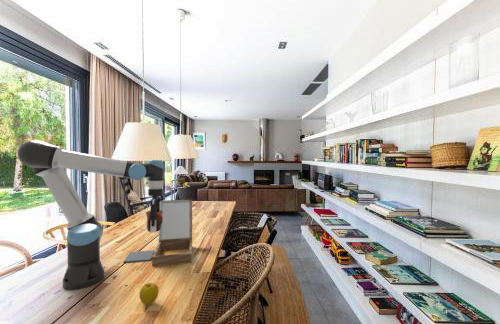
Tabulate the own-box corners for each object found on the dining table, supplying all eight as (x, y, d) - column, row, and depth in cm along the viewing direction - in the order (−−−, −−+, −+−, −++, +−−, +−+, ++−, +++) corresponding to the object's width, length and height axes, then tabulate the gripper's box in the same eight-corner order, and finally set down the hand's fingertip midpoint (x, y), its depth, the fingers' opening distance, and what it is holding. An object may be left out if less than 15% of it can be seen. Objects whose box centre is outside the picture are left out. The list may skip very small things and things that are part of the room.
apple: (135, 307, 87) (135, 285, 87) (148, 297, 93) (148, 277, 93) (149, 311, 85) (149, 288, 84) (162, 301, 90) (162, 279, 90)
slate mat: (150, 260, 127) (150, 259, 127) (123, 263, 124) (123, 261, 124) (154, 251, 139) (154, 250, 139) (130, 253, 137) (130, 252, 137)
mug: (142, 230, 132) (142, 211, 132) (157, 227, 139) (157, 209, 139) (153, 235, 124) (153, 215, 124) (168, 231, 131) (169, 212, 131)
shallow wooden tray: (191, 262, 124) (191, 251, 124) (152, 266, 120) (152, 255, 120) (192, 246, 147) (192, 237, 147) (159, 249, 143) (158, 239, 143)
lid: (192, 199, 154) (192, 199, 155) (160, 200, 150) (160, 201, 151) (192, 237, 147) (192, 237, 148) (158, 239, 143) (159, 240, 144)
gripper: (159, 190, 122) (158, 235, 122) (165, 186, 143) (164, 224, 143) (143, 190, 121) (142, 235, 121) (152, 186, 142) (151, 224, 142)
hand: (154, 229), depth 132 cm, fingers closed on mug, 9 cm apart
